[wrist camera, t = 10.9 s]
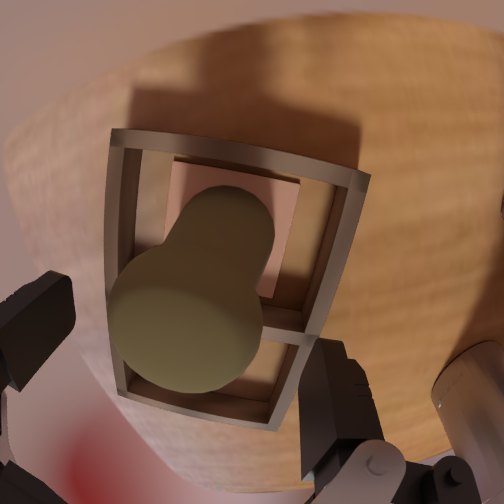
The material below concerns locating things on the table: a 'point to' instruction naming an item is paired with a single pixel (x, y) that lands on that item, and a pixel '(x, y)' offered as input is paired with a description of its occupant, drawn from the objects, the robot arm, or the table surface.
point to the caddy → (274, 318)
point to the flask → (502, 209)
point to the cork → (196, 294)
